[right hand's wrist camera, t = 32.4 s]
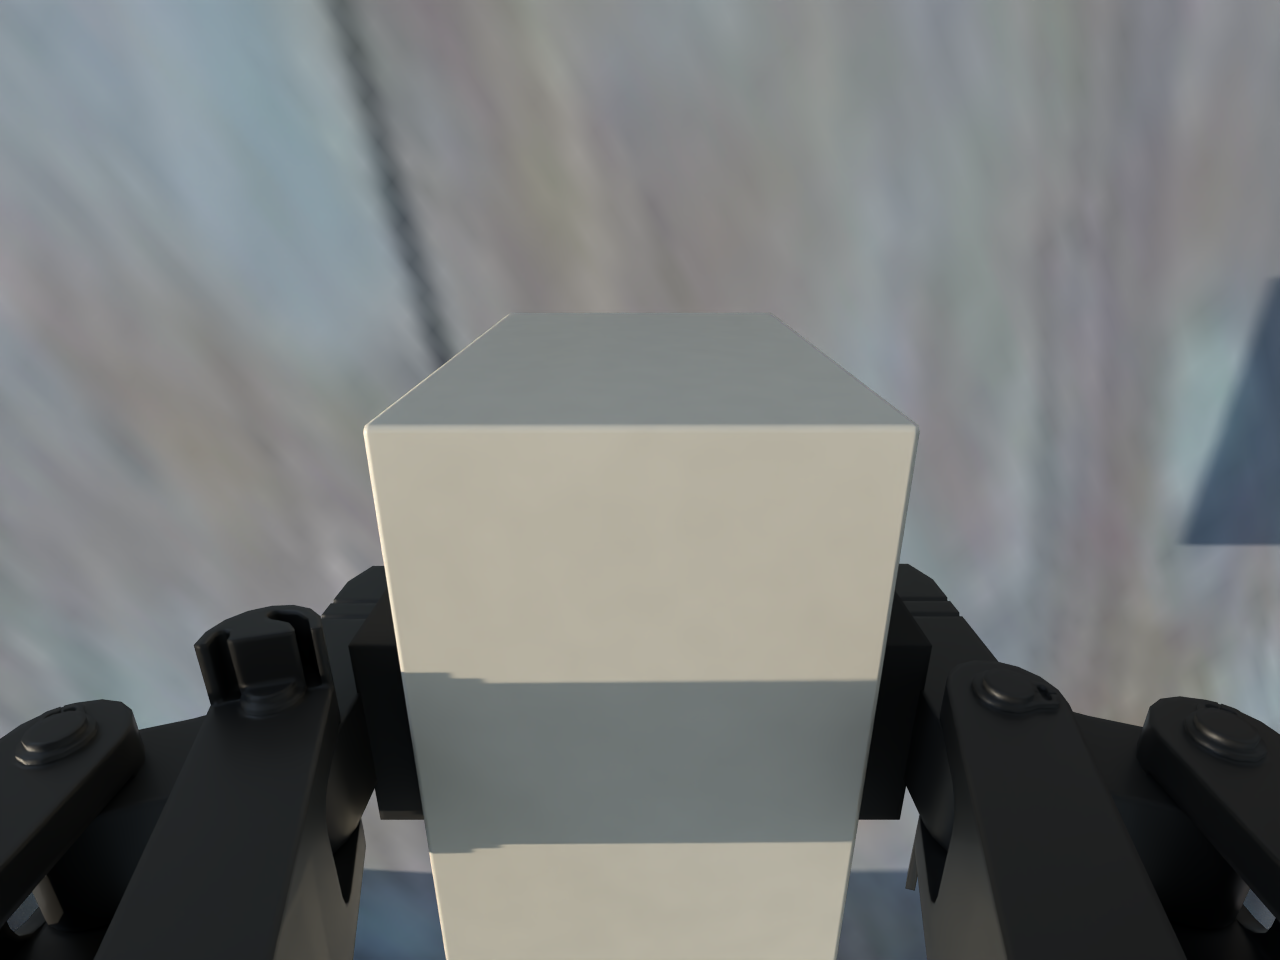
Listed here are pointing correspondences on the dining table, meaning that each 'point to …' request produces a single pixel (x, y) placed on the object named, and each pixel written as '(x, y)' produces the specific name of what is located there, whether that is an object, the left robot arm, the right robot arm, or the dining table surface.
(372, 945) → the dining table surface
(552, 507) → the block
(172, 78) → the dining table surface
